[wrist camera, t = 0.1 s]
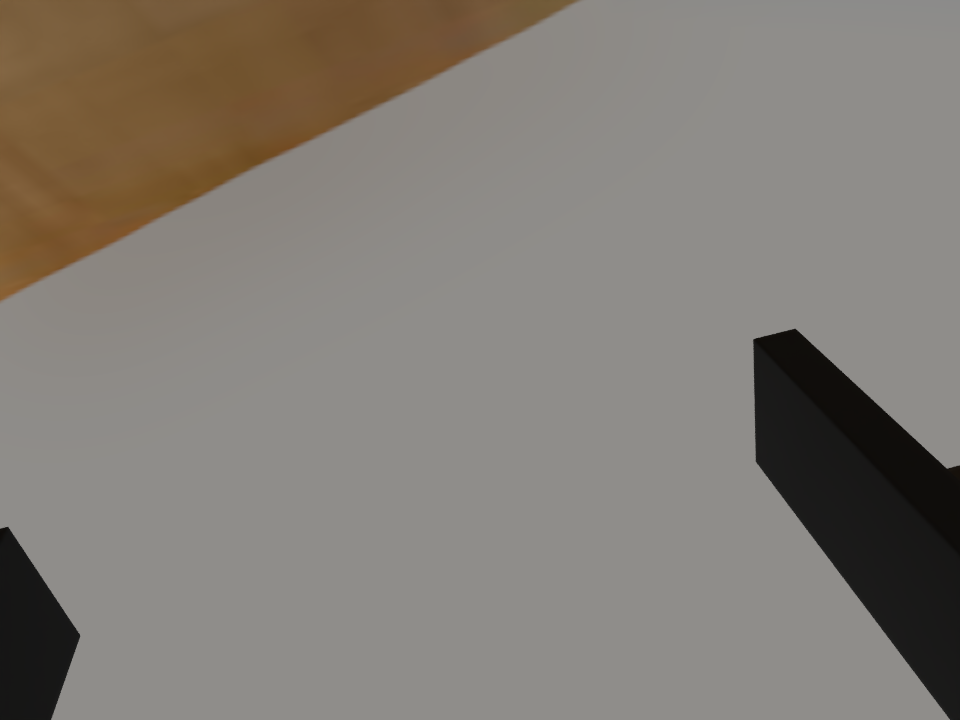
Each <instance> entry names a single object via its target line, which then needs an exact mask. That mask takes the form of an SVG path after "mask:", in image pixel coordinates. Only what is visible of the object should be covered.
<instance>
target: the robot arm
mask: <svg viewBox="0 0 960 720" xmlns="http://www.w3.org/2000/svg"><path fill="white" fill-rule="evenodd" d="M753 344H754V389H755V390H754V392H755V439H756V462H757V464H758V465H759V466H760V468H761V469H762V470H763V472H764V473H765V474H766V476H767V477H768V478H769V480H770V481H771V482H772V484H773V485H774V486H775V488H776V489H777V490H778V492H779V493H780V494H781V495H782V497H783V498H784V500H785V501H786V502H787V504H788V505H789V506H790V508H791V509H792V510H793V511H794V513H795V514H796V516H797V517H798V518H799V520H800V521H801V522H802V523H803V525H804V526H805V528H806V529H807V530H808V532H809V533H810V534H811V536H812V537H813V538H814V539H815V541H816V542H817V544H818V545H819V546H820V547H821V549H822V550H823V551H824V553H825V554H826V555H827V557H828V558H829V559H830V561H831V562H832V563H833V565H834V566H835V567H836V569H837V570H838V571H839V573H840V574H841V575H842V577H843V578H844V579H845V581H846V582H847V583H848V584H849V586H850V587H851V589H852V590H853V591H854V593H855V594H856V595H857V597H858V598H859V599H860V601H861V602H862V603H863V604H864V606H865V607H866V609H867V610H868V611H869V612H870V614H871V615H872V617H873V618H874V619H875V620H876V622H877V623H878V624H879V626H880V627H881V628H882V630H883V631H884V632H885V633H886V635H887V636H888V638H889V639H890V640H891V642H892V643H893V644H894V646H895V647H896V648H897V649H898V651H899V652H900V654H901V655H902V656H903V658H904V659H905V660H906V662H907V663H908V664H909V666H910V667H911V668H912V670H913V671H914V672H915V674H916V675H917V676H918V678H919V679H920V680H921V682H922V683H923V684H924V686H925V687H926V688H927V690H928V691H929V692H930V694H931V695H932V696H933V697H934V699H935V700H936V702H937V703H938V704H939V706H940V707H941V708H942V709H943V711H944V712H945V713H946V714H947V716H948V718H949V719H950V720H960V466H956V467H952V468H949V469H947V468H945V467H944V466H943V465H942V464H941V463H940V462H939V461H938V460H937V459H936V458H935V457H934V456H932V455H931V454H930V453H929V452H928V451H927V450H926V449H925V448H924V447H923V446H922V445H921V444H920V443H918V442H917V441H916V440H915V439H914V438H913V437H912V436H911V435H910V434H909V433H908V432H907V431H905V430H904V429H903V428H902V427H901V426H900V425H899V424H898V423H897V422H896V421H895V420H894V419H892V418H891V417H890V416H889V415H888V414H887V413H886V412H885V411H884V410H883V409H882V408H881V407H879V406H878V405H877V404H876V403H875V402H874V401H873V400H872V399H871V398H870V397H869V396H868V395H866V394H865V393H864V392H863V391H862V390H861V389H860V388H859V387H858V386H857V385H856V384H855V383H853V382H852V381H851V380H850V379H849V378H848V377H847V376H846V375H845V374H844V373H842V371H840V370H839V369H838V368H837V367H836V366H835V365H834V364H833V363H832V362H831V361H830V360H829V359H828V358H827V357H825V356H824V355H823V354H822V353H821V352H820V351H819V350H818V349H817V348H816V347H814V345H812V344H811V343H810V342H809V341H808V340H807V339H806V338H805V337H804V336H803V335H802V334H801V333H799V332H798V331H797V330H796V329H792V330H788V331H784V332H780V333H776V334H772V335H768V336H764V337H761V338H756V339H754V340H753ZM79 638H80V634H79V633H78V631H77V630H76V628H75V627H74V625H73V624H72V622H71V621H70V619H69V618H68V616H67V615H66V613H65V612H64V610H63V609H62V607H61V606H60V604H59V603H58V602H57V600H56V598H55V597H54V595H53V594H52V592H51V591H50V589H49V588H48V586H47V585H46V583H45V582H44V580H43V579H42V577H41V576H40V574H39V573H38V571H37V570H36V569H35V567H34V565H33V564H32V562H31V561H30V559H29V558H28V556H27V555H26V553H25V552H24V550H23V549H22V547H21V546H20V544H19V543H18V541H17V540H16V538H15V537H14V535H13V534H12V532H11V531H10V529H9V528H8V527H5V528H1V529H0V720H51V718H52V715H53V713H54V710H55V707H56V704H57V701H58V698H59V695H60V693H61V690H62V686H63V684H64V681H65V678H66V675H67V672H68V669H69V667H70V664H71V661H72V658H73V655H74V652H75V649H76V647H77V644H78V641H79Z"/></svg>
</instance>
